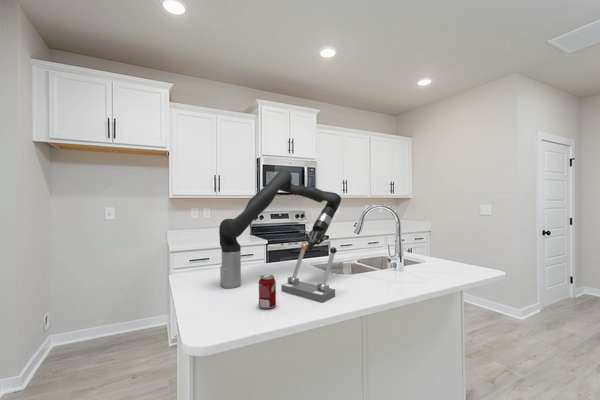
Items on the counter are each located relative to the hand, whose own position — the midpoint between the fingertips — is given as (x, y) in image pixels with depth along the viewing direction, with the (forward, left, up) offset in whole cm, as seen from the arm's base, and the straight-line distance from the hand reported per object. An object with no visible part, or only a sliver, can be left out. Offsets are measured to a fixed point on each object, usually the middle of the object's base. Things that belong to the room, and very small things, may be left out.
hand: (308, 249), depth 141 cm
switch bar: (-9, -11, -17) cm, 22 cm away
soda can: (-31, -13, -18) cm, 38 cm away
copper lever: (-12, -3, -14) cm, 18 cm away
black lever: (-7, -19, -14) cm, 25 cm away
